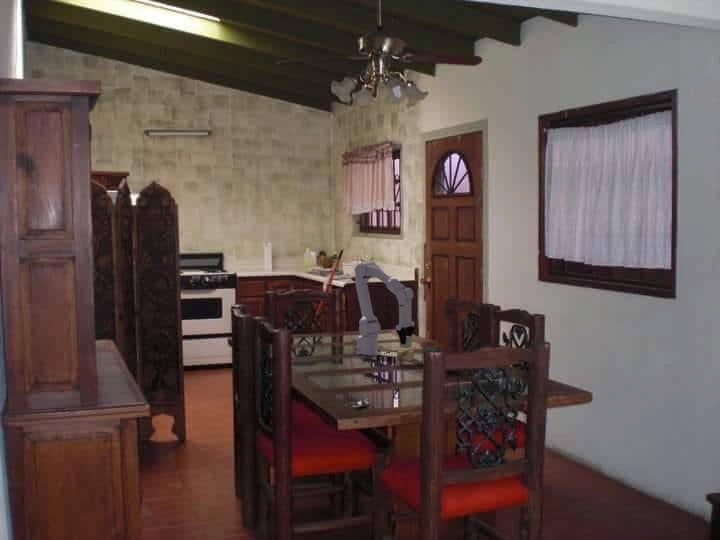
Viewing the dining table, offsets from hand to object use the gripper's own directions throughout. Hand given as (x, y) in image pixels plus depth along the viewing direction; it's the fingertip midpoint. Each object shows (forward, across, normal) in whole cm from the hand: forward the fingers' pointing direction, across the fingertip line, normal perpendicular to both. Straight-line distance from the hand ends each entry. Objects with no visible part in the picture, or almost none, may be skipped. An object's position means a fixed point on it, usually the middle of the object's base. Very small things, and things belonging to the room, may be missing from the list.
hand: (405, 343), depth 362 cm
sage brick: (+2, 0, 0) cm, 2 cm away
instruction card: (+7, +7, +12) cm, 16 cm away
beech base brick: (+8, 0, 0) cm, 8 cm away
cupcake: (+8, +16, -4) cm, 18 cm away
